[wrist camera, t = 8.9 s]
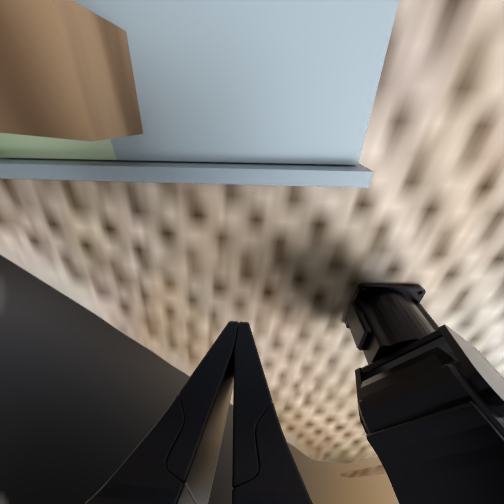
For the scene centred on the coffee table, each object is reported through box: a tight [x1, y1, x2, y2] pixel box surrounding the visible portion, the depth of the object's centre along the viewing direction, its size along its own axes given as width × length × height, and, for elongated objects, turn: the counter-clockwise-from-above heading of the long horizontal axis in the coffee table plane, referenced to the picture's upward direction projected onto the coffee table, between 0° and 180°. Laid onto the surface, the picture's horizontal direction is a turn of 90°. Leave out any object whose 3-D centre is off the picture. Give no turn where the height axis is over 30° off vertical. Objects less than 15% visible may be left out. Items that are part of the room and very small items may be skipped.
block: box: [0, 0, 143, 142], centre depth 11 cm, size 5×5×5 cm
